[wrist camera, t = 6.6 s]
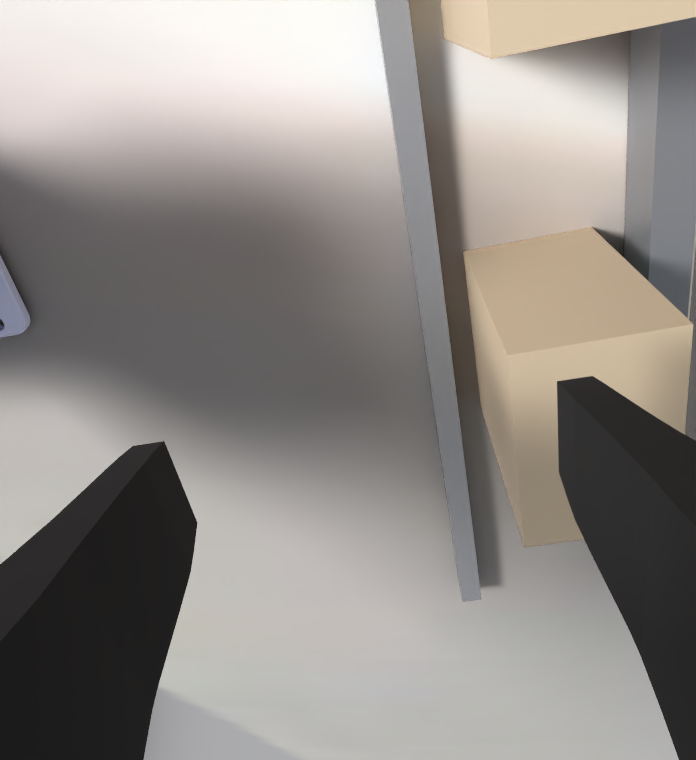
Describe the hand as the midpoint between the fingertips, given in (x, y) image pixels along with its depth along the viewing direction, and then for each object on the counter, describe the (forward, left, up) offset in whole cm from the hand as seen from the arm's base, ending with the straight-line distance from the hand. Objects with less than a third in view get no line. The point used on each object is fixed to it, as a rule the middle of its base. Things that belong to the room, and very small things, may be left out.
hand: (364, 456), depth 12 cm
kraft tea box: (+5, -3, -10) cm, 12 cm away
